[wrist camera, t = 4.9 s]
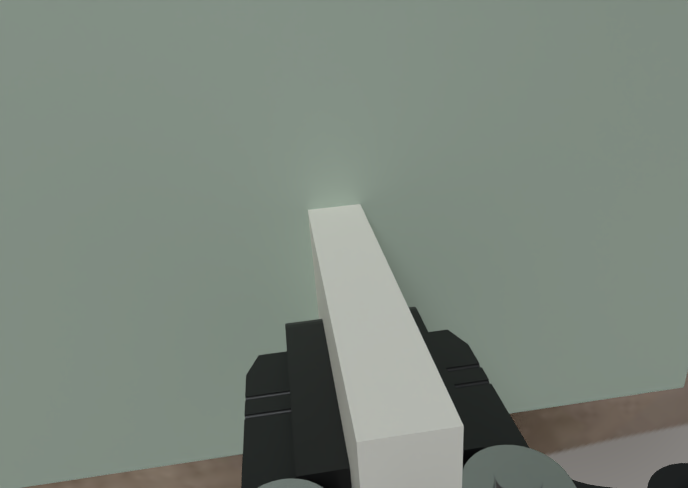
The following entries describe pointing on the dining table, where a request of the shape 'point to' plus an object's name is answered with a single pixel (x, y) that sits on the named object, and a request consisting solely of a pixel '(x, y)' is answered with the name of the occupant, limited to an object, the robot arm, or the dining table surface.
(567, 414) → the dining table surface
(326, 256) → the lid
